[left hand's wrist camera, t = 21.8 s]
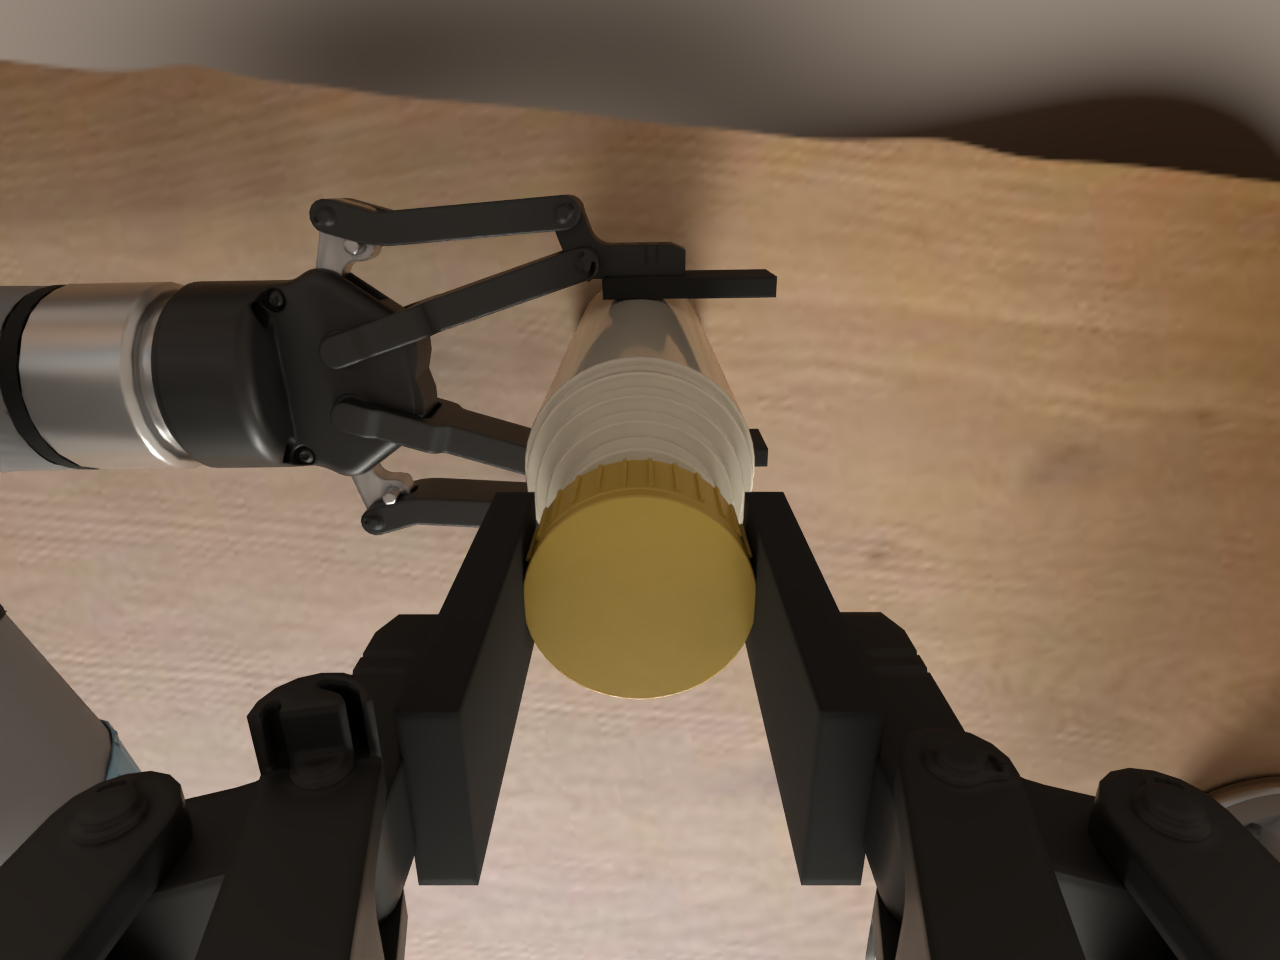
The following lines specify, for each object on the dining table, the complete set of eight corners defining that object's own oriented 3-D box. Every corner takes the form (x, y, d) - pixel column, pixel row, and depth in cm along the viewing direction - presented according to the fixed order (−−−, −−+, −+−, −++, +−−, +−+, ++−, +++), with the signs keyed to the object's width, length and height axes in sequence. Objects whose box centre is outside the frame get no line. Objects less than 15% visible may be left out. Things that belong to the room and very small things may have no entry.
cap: (779, 597, 15) (797, 648, 13) (595, 676, 16) (590, 733, 14) (690, 418, 14) (697, 450, 12) (492, 513, 14) (473, 556, 13)
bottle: (717, 296, 35) (851, 481, 13) (680, 413, 37) (741, 743, 15) (595, 261, 35) (515, 390, 12) (565, 381, 37) (450, 677, 14)
